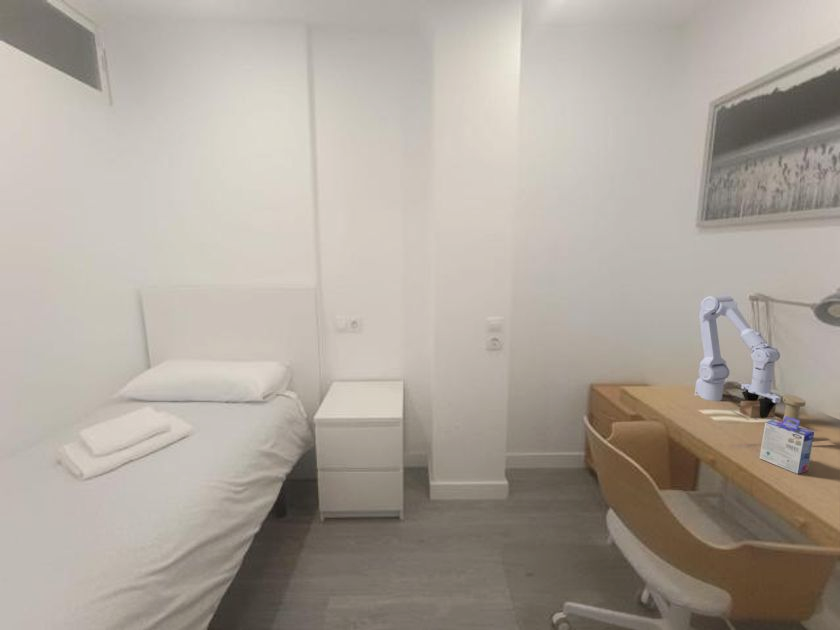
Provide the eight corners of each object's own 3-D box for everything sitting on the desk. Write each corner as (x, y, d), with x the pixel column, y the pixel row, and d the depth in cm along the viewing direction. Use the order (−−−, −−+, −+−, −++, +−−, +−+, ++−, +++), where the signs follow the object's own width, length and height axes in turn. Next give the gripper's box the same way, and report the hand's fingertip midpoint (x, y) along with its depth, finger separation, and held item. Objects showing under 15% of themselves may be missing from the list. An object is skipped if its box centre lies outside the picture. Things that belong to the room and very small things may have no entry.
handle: (790, 437, 135) (796, 395, 132) (802, 446, 129) (809, 403, 126) (773, 435, 136) (779, 394, 134) (784, 445, 130) (791, 401, 128)
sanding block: (739, 412, 152) (740, 401, 151) (762, 411, 152) (763, 400, 151) (750, 417, 147) (752, 406, 146) (774, 417, 147) (775, 405, 146)
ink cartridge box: (809, 470, 116) (817, 424, 113) (798, 475, 114) (806, 428, 111) (768, 454, 125) (775, 411, 122) (758, 458, 123) (764, 414, 120)
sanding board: (688, 411, 157) (688, 407, 156) (757, 408, 158) (757, 405, 157) (719, 430, 141) (720, 426, 141) (796, 427, 142) (797, 423, 142)
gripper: (735, 373, 154) (731, 406, 156) (769, 386, 139) (763, 422, 142) (753, 372, 154) (748, 405, 156) (788, 385, 140) (783, 421, 142)
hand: (757, 413), depth 149 cm, fingers closed on sanding block, 5 cm apart
